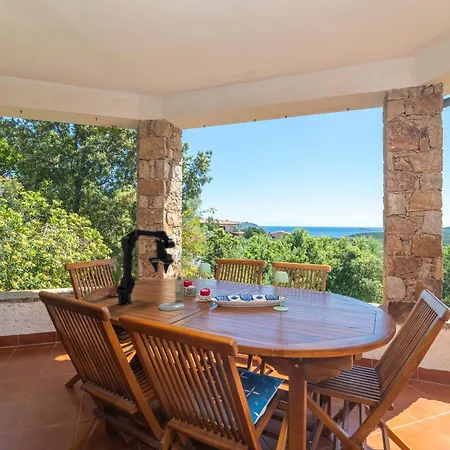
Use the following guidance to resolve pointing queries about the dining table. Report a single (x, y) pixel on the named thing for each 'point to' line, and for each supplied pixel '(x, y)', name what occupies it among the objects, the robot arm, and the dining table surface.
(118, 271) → the potted flower
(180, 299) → the beige striped cylinder
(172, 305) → the plate
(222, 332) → the dining table surface
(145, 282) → the dining table surface
